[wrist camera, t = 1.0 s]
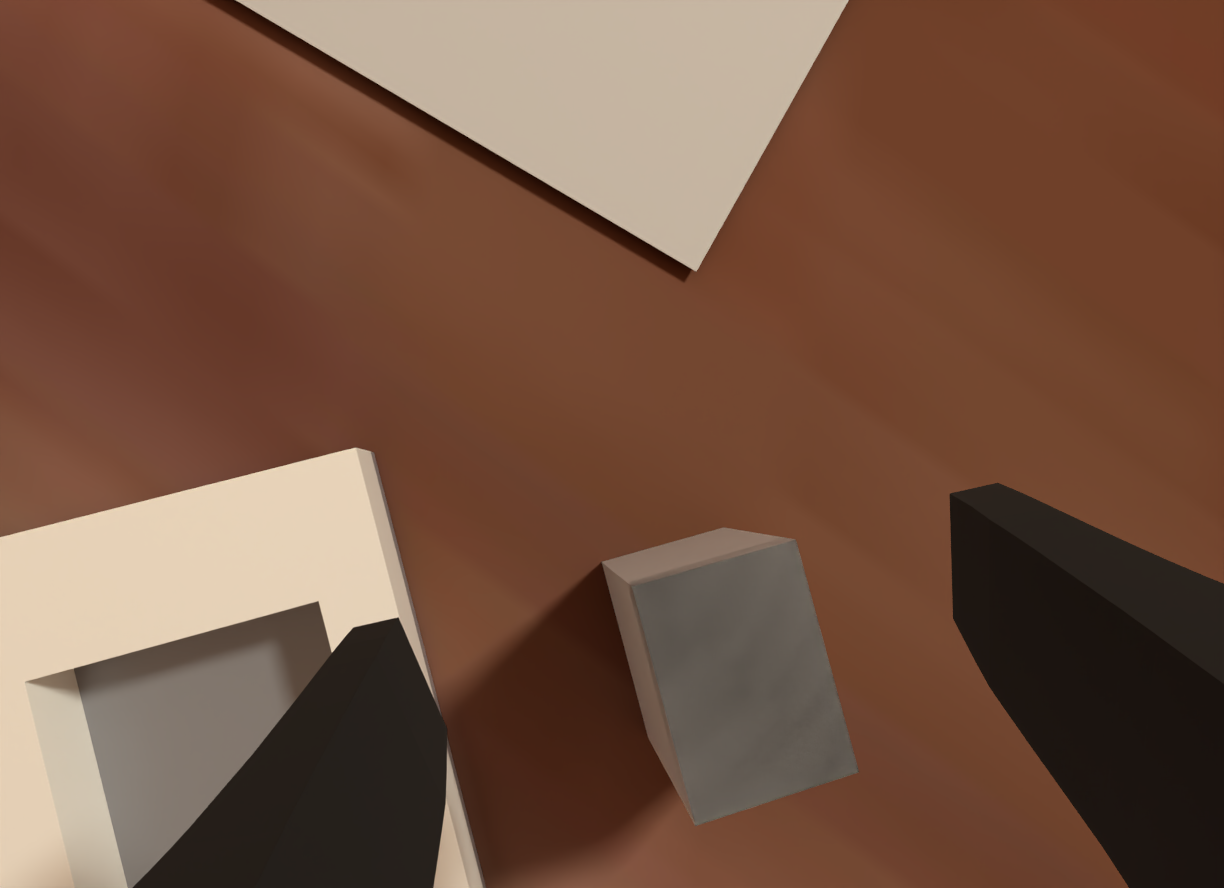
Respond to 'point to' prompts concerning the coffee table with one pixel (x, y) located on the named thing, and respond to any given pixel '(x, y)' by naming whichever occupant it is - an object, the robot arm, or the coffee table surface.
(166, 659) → the faceplate
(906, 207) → the coffee table surface
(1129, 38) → the coffee table surface
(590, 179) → the paper stack
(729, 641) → the plug
